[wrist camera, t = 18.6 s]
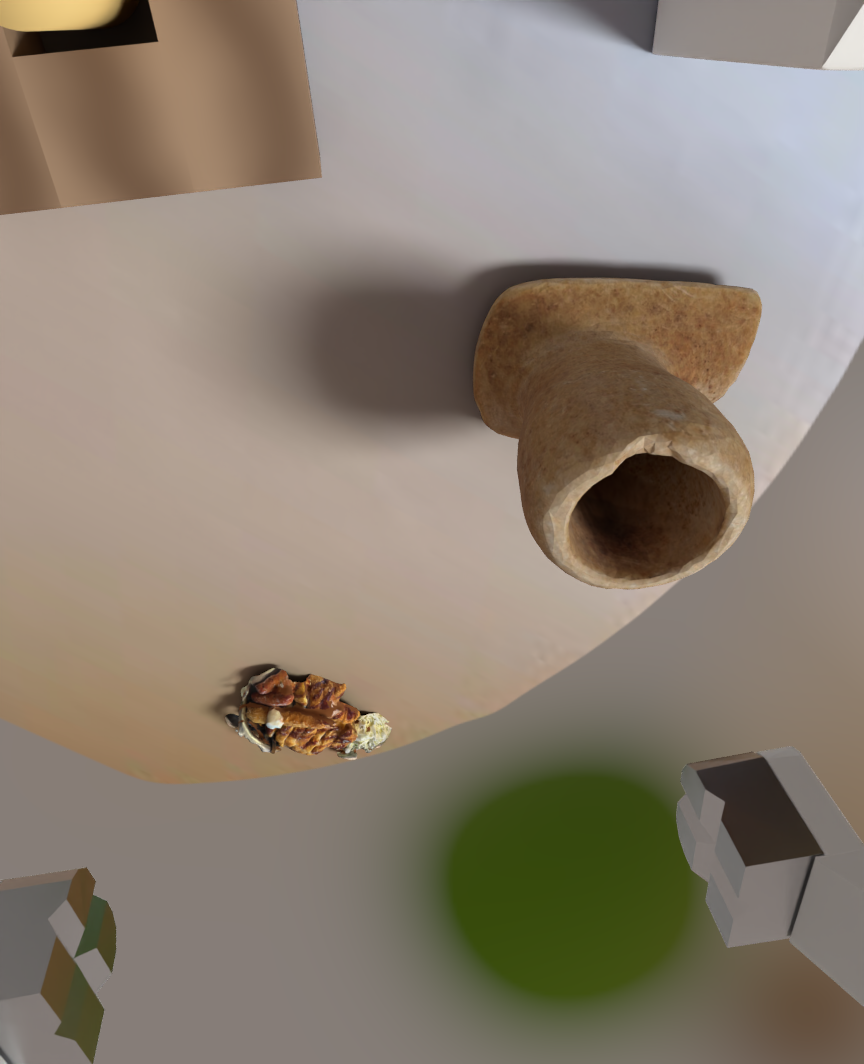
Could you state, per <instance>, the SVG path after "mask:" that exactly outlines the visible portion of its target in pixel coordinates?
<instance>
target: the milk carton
mask: <svg viewBox="0 0 864 1064" xmlns="http://www.w3.org/2000/svg"><path fill="white" fill-rule="evenodd" d="M652 52H653V54H654V55H663V56H673V57H684V58H695V59H706V60H717V61H728V62H739V63H750V64H760V65H771V66H782V67H793V68H804V69H816V70H864V0H659V2H658V10H657V18H656V26H655V34H654V42H653V51H652Z"/></svg>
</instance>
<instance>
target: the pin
mask: <svg viewBox="0 0 864 1064" xmlns="http://www.w3.org/2000/svg"><path fill="white" fill-rule="evenodd" d="M138 2H139V0H0V26H2V27H5V28H8V29H12V30H16V31H55V30H85V29H107V28H112V27H115V26H118V25H120V24H121V23H123V22H124V21H126V20H127V19H128V18H129V17H130V16H131V15H132V13H133V12H134V10H135V9H136V7H137V5H138Z"/></svg>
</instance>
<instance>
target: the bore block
mask: <svg viewBox="0 0 864 1064" xmlns="http://www.w3.org/2000/svg"><path fill="white" fill-rule="evenodd" d="M313 178H322V174H321V162H320V153H319V147H318V140H317V134H316V127H315V120H314V114H313V107H312V100H311V94H310V87H309V81H308V74H307V67H306V61H305V54H304V48H303V41H302V34H301V28H300V21H299V15H298V8H297V1H296V0H139V2H138V5H137V7H136V9H135V10H134V12H133V13H132V15H131V16H130V17H129V18H128V19H127V20H126V21H124V22H123V23H121V24H120V25H118V26H115V27H112V28H107V29H85V30H55V31H16V30H12V29H8V28H5V27H2V26H0V215H4V214H13V213H21V212H30V211H38V210H47V209H56V208H64V207H73V206H81V205H90V204H98V203H107V202H116V201H124V200H133V199H141V198H150V197H159V196H167V195H176V194H184V193H193V192H201V191H210V190H219V189H227V188H236V187H244V186H253V185H262V184H270V183H279V182H287V181H296V180H304V179H313Z"/></svg>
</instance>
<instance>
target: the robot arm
mask: <svg viewBox="0 0 864 1064" xmlns="http://www.w3.org/2000/svg"><path fill="white" fill-rule="evenodd" d="M681 784H682V786H683V788H684V790H685V792H686V794H685V795H684V796H683V797H682V799H680V800H679V802H678V804H677V816H676V820H677V826H678V833H679V838H680V841H681V844H682V847H683V851H684V854H685V856H686V858H687V860H688V862H689V865H690V867H691V870H692V871H694V872H695V873H696V874H698V875H699V876H700V877H702V878H703V879H704V880H706V881H707V882H708V883H709V884H708V890H707V896H706V903H707V905H708V907H709V909H710V911H711V913H712V916H713V918H714V920H715V922H716V924H717V926H718V928H719V931H720V933H721V935H722V937H723V939H724V941H725V944H726V946H727V948H729V947H734V946H735V947H736V946H742V945H748V944H754V943H761V942H768V941H774V940H781V939H787V938H790V941H789V942H790V943H791V944H792V945H794V946H795V947H796V948H797V949H798V950H799V951H800V952H802V953H803V954H804V955H805V956H806V957H808V959H810V960H811V961H812V962H813V963H814V964H815V965H817V966H818V967H819V968H820V969H821V970H822V971H823V972H825V973H826V974H827V975H828V976H829V977H830V978H832V979H833V980H834V981H835V982H836V983H837V984H838V985H839V986H840V987H842V988H843V989H844V990H845V991H846V992H847V993H849V994H850V995H851V996H852V997H853V998H854V999H855V1000H856V1001H858V1002H859V1003H860V1004H861V1005H862V1006H863V1007H864V844H863V843H862V841H861V840H860V838H859V837H858V835H857V834H856V833H855V831H854V830H853V828H852V827H851V825H850V824H849V822H848V821H847V819H846V818H845V817H844V815H843V814H842V812H841V811H840V810H839V808H838V806H837V805H836V803H835V802H834V801H833V799H832V798H831V796H830V795H829V793H828V792H827V790H826V789H825V787H824V786H823V785H822V783H821V782H820V780H819V779H818V777H817V776H816V774H815V773H814V771H813V770H812V769H811V767H810V766H809V764H808V763H807V761H806V760H805V758H804V757H803V755H802V754H801V752H799V751H798V750H796V749H795V748H794V747H782V748H777V749H771V750H766V751H761V752H757V753H754V752H749V753H743V754H738V755H732V756H727V757H722V758H716V759H711V760H706V761H700V762H696V763H690V764H687V765H686V766H685V767H684V768H683V769H682V775H681ZM95 884H96V881H95V879H94V878H93V876H92V875H91V873H90V871H89V870H88V869H87V867H85V868H79V869H72V870H66V871H59V872H53V873H46V874H39V875H32V876H26V877H20V878H12V879H4V880H0V1064H93V1062H94V1058H95V1053H96V1048H97V1043H98V1038H99V1034H100V1029H101V1024H102V1019H103V1015H104V1008H103V1006H102V1004H101V1002H100V1000H99V998H98V996H97V995H96V993H97V992H98V991H99V990H100V988H101V987H102V986H103V985H104V983H105V982H106V981H107V979H108V978H109V977H110V976H111V974H112V971H113V966H114V960H115V955H116V924H115V920H114V915H113V911H112V910H111V908H110V906H109V904H108V902H107V901H106V900H104V899H101V898H99V897H97V896H95V895H93V892H94V888H95Z"/></svg>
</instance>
